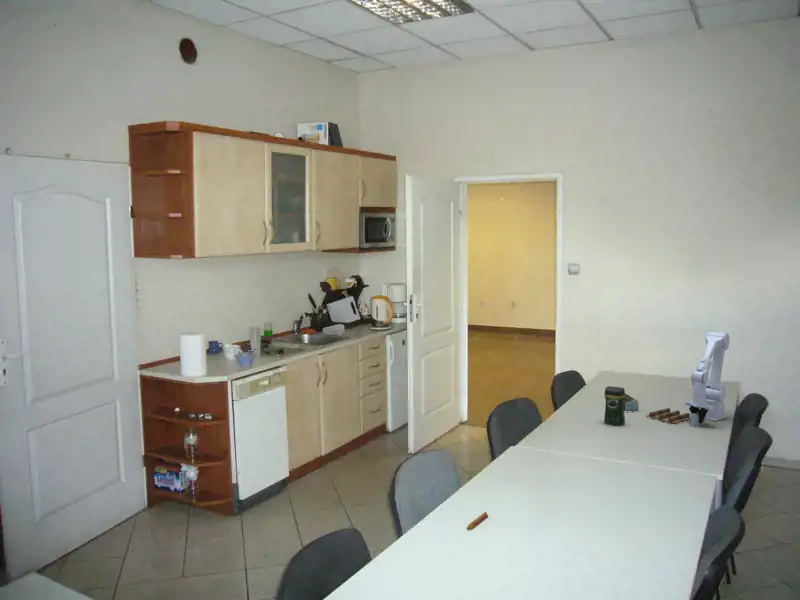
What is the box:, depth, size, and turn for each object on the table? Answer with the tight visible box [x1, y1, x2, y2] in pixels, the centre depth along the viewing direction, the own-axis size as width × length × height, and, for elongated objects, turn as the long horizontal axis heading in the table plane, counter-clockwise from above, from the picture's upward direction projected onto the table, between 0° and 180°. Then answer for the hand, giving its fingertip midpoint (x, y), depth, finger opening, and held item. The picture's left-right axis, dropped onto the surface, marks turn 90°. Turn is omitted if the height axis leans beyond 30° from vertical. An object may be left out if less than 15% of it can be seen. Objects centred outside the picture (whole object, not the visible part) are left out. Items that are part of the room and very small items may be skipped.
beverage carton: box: [624, 393, 639, 412], centre depth 370 cm, size 8×19×7 cm, turn 7°
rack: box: [645, 407, 691, 425], centre depth 347 cm, size 15×16×3 cm
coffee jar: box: [603, 385, 626, 426], centre depth 340 cm, size 10×8×19 cm
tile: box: [689, 412, 707, 428], centre depth 336 cm, size 9×2×6 cm, turn 122°
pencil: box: [466, 511, 489, 531], centre depth 230 cm, size 3×12×2 cm, turn 146°
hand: (698, 422), depth 336 cm, fingers closed on tile, 2 cm apart
